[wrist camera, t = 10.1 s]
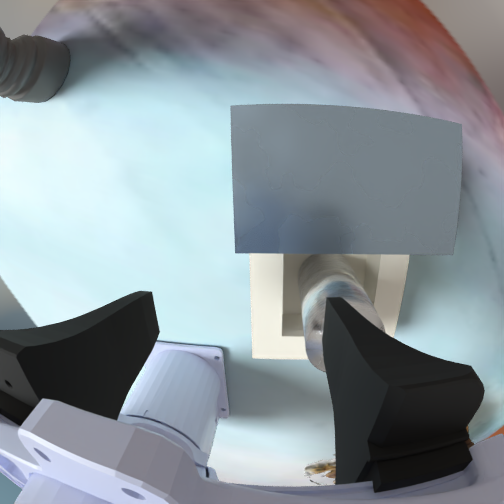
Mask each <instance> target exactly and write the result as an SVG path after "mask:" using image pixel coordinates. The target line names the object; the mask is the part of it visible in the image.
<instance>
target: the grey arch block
mask: <svg viewBox="0 0 504 504" xmlns="http://www.w3.org/2000/svg"><path fill="white" fill-rule="evenodd" d="M231 146H232V178H233V207H234V233H235V253H266V254H385V255H453V252H454V246H455V239H456V232H457V224H458V216H459V206H460V195H461V179H462V124H459V123H455V122H450V121H446V120H441V119H436V118H431V117H426V116H420V115H414V114H408V113H401V112H394V111H387V110H379V109H370V108H360V107H348V106H334V105H312V104H256V105H235V106H231Z"/></svg>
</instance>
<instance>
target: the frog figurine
mask: <svg viewBox="0 0 504 504" xmlns="http://www.w3.org/2000/svg"><path fill="white" fill-rule="evenodd" d="M334 455H336V454H334ZM304 471H305V473H304V474H305V475H304V476H308V477H307V478H310V476H311V475H312V474H318V473H322V472H324V474H323V475H321V477H322V476H323V477H324V476H326V477H328V478H336V458H334V459H332V460H320V461H317V462H314V463H311V464H308V465H306V466H305V468H304ZM310 481H311V482H313V481H312V480H310ZM314 483H316V484H318V485H327V484H324V483H317V482H314ZM333 483H334V484H335V480H334V481H333Z"/></svg>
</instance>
